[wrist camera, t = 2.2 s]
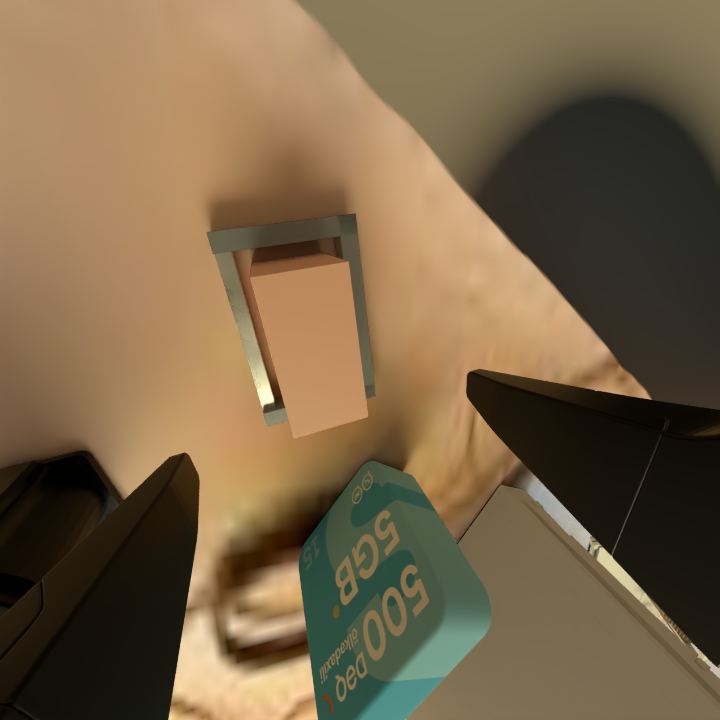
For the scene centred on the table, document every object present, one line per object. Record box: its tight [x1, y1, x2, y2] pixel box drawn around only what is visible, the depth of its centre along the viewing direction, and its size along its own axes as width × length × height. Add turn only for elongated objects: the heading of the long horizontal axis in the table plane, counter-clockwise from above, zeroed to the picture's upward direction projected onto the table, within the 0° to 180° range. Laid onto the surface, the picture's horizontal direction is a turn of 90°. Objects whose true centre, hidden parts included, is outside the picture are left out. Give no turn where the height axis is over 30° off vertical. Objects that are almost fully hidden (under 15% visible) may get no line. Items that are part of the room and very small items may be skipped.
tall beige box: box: [250, 252, 368, 439], centre depth 16 cm, size 8×4×6 cm, turn 6°
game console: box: [406, 485, 720, 720], centre depth 28 cm, size 6×27×20 cm, turn 151°
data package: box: [299, 461, 491, 720], centre depth 22 cm, size 12×4×12 cm, turn 143°
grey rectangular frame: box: [206, 214, 376, 426], centre depth 18 cm, size 12×8×2 cm, turn 6°
